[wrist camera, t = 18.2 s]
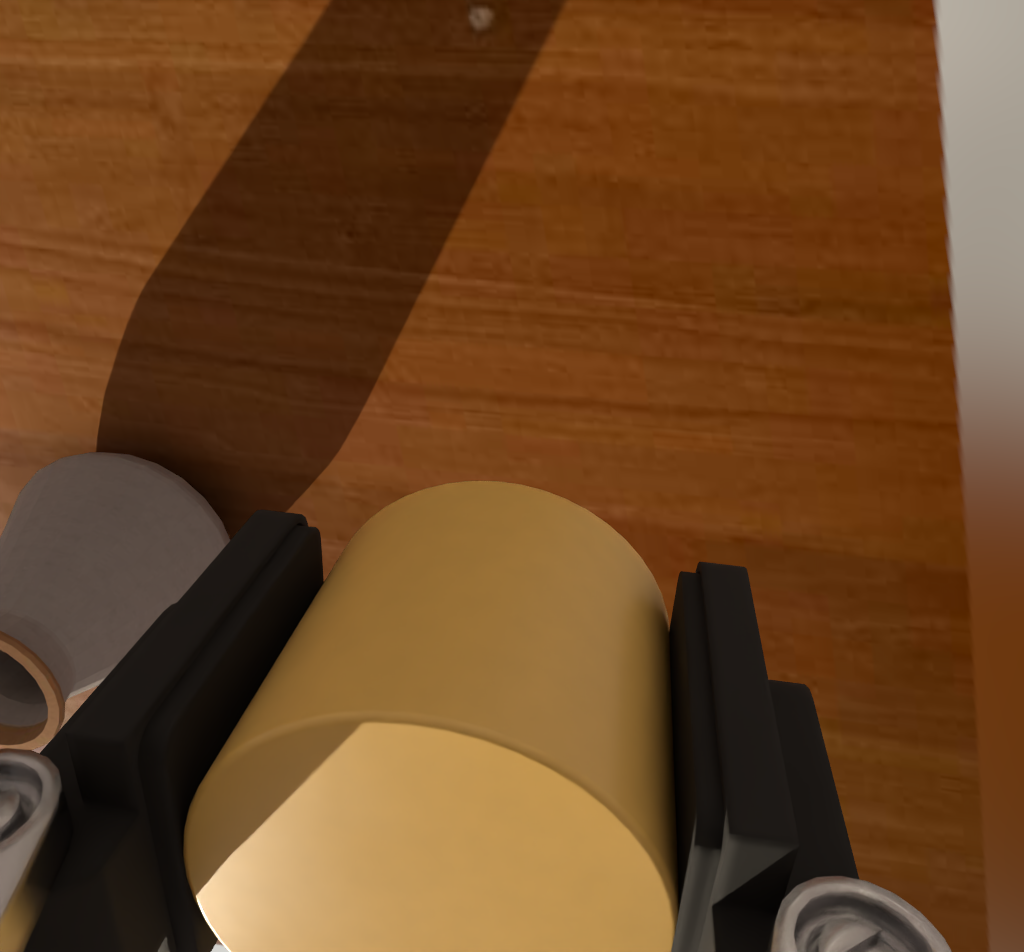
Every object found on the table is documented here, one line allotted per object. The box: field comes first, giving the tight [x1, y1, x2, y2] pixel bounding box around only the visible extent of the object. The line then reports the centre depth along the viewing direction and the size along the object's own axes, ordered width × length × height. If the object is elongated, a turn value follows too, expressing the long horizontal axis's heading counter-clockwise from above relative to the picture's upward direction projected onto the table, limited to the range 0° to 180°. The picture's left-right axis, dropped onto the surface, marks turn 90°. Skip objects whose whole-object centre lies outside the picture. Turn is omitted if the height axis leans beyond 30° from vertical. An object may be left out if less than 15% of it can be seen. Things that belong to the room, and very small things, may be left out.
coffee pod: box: [183, 481, 679, 952], centre depth 9 cm, size 4×4×4 cm
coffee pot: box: [0, 452, 230, 750], centre depth 39 cm, size 21×12×15 cm, turn 126°
